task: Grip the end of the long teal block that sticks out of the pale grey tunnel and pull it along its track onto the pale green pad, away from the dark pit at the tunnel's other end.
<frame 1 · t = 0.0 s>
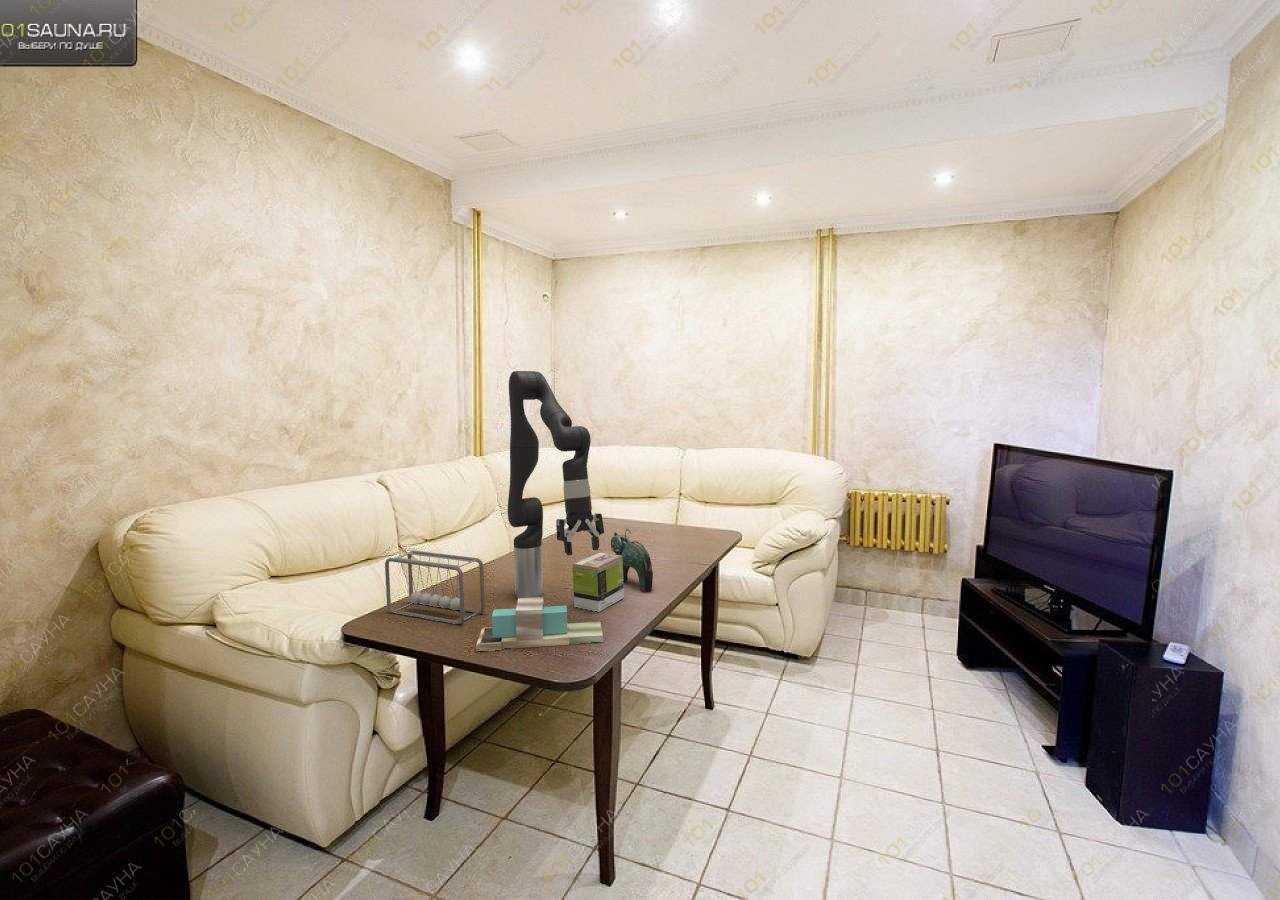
hand: (582, 552, 166), 22 cm above the table, tool pointing down, fingers open, 8 cm apart
ceramic cat: (633, 585, 207), on the table
teal block: (530, 631, 161), point 2 cm above the table, slide at 0.0 cm
newton's cradle: (435, 614, 182), on the table
tunnel track: (521, 640, 161), on the table
tea box: (599, 603, 189), on the table
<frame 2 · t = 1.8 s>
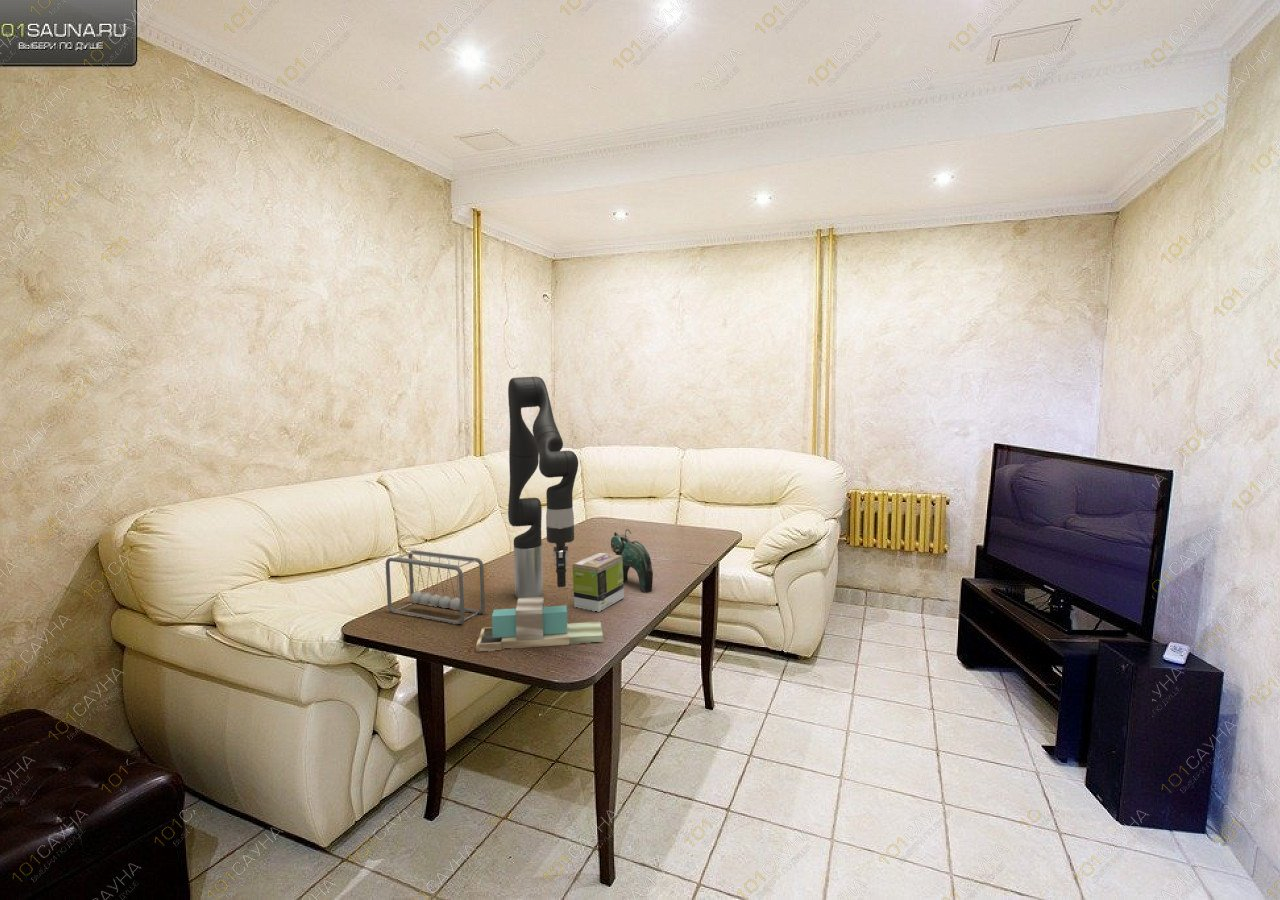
hand: (561, 581, 161), 16 cm above the table, tool pointing down, fingers open, 8 cm apart
nothing on the table moved.
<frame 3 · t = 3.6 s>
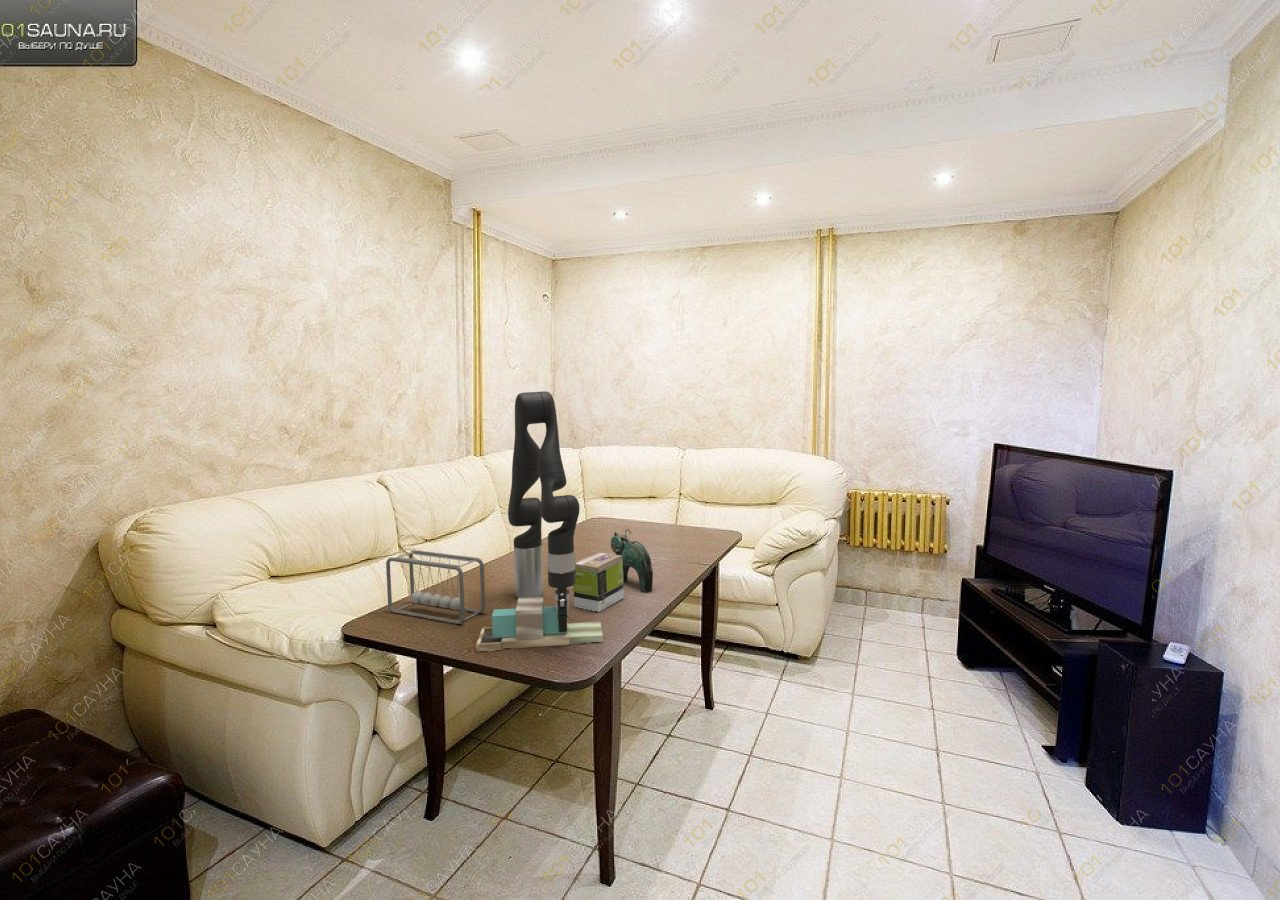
hand: (562, 627, 162), 3 cm above the table, tool pointing down, fingers closed on teal block, 5 cm apart
teal block: (530, 631, 161), point 2 cm above the table, slide at 0.0 cm, touching gripper
everything else where it was.
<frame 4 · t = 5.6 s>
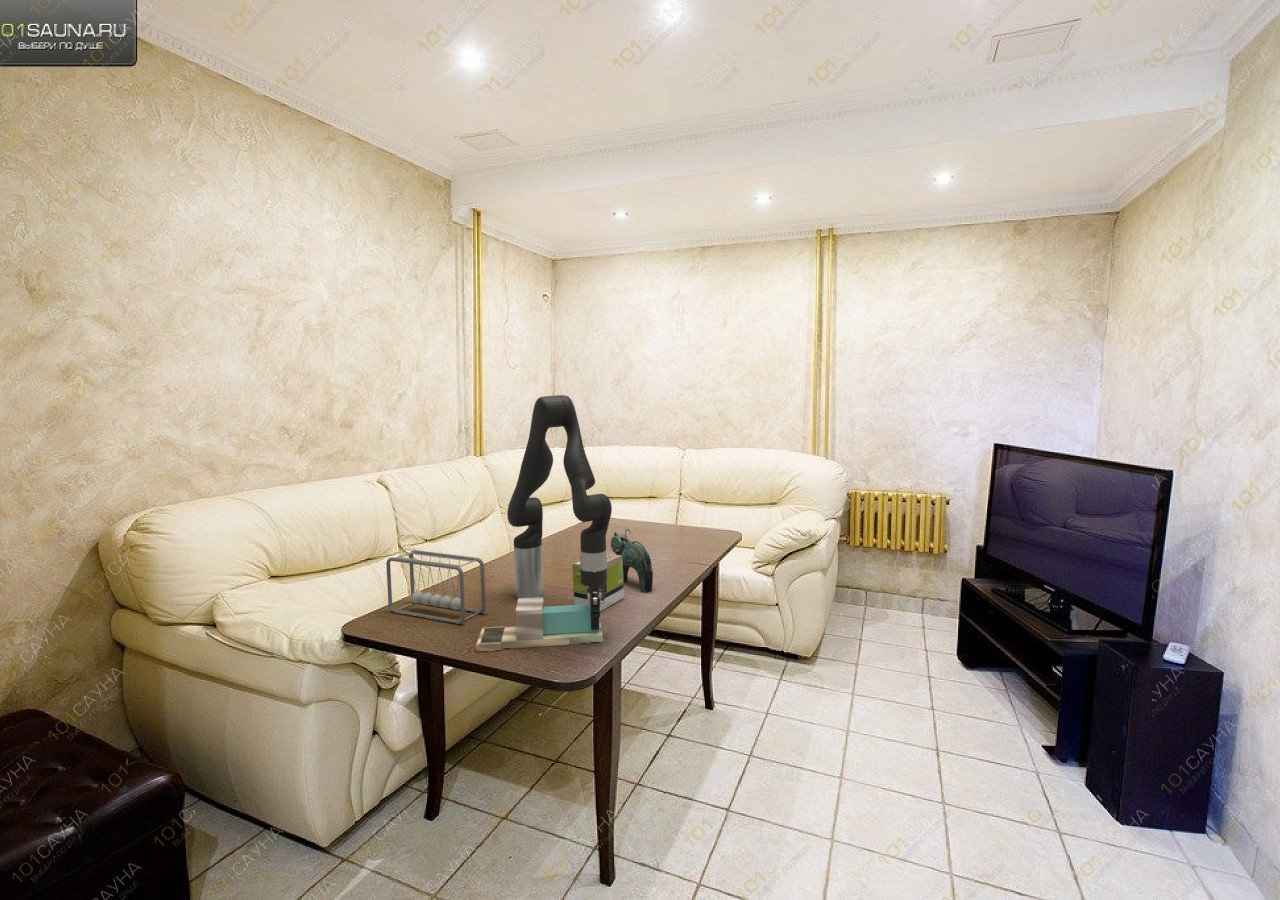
hand: (594, 625, 163), 3 cm above the table, tool pointing down, fingers closed on teal block, 5 cm apart
teal block: (562, 629, 162), point 2 cm above the table, slide at 8.8 cm, touching gripper
everything else where it was.
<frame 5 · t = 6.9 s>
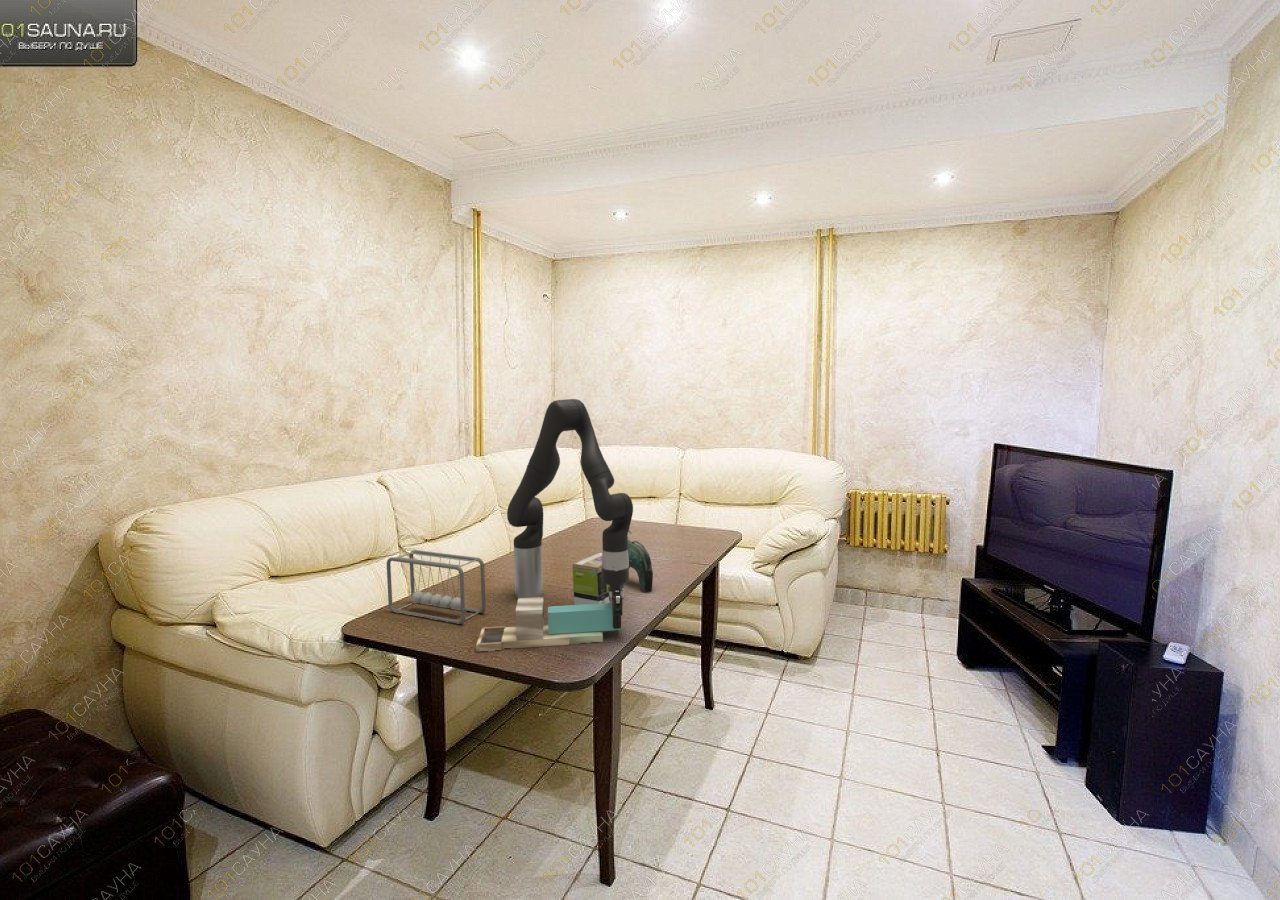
hand: (616, 624, 164), 3 cm above the table, tool pointing down, fingers closed on teal block, 5 cm apart
teal block: (584, 628, 163), point 2 cm above the table, slide at 14.8 cm, touching gripper
everything else where it was.
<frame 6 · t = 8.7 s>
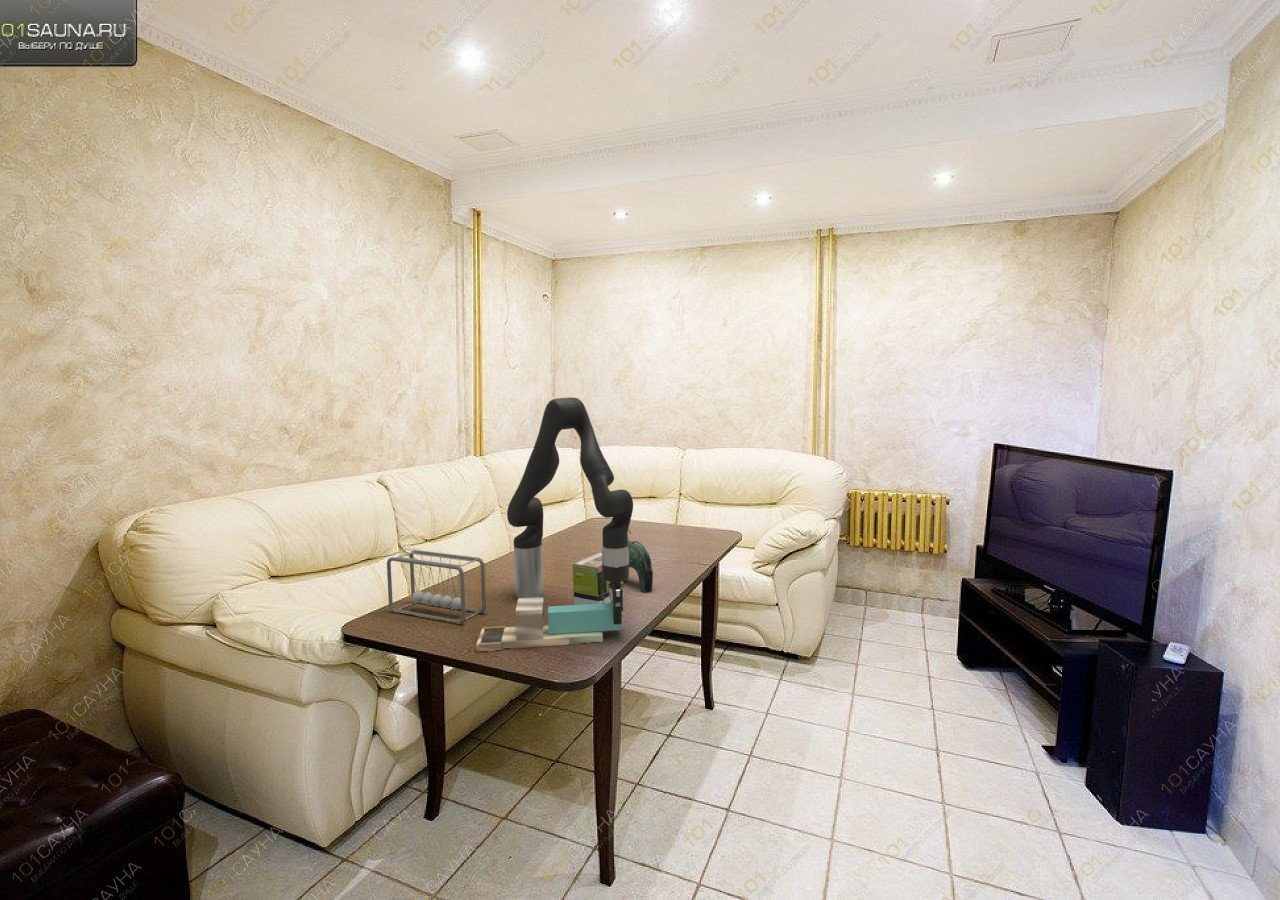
hand: (616, 618, 164), 5 cm above the table, tool pointing down, fingers open, 8 cm apart
teal block: (584, 628, 163), point 2 cm above the table, slide at 14.9 cm
everything else where it was.
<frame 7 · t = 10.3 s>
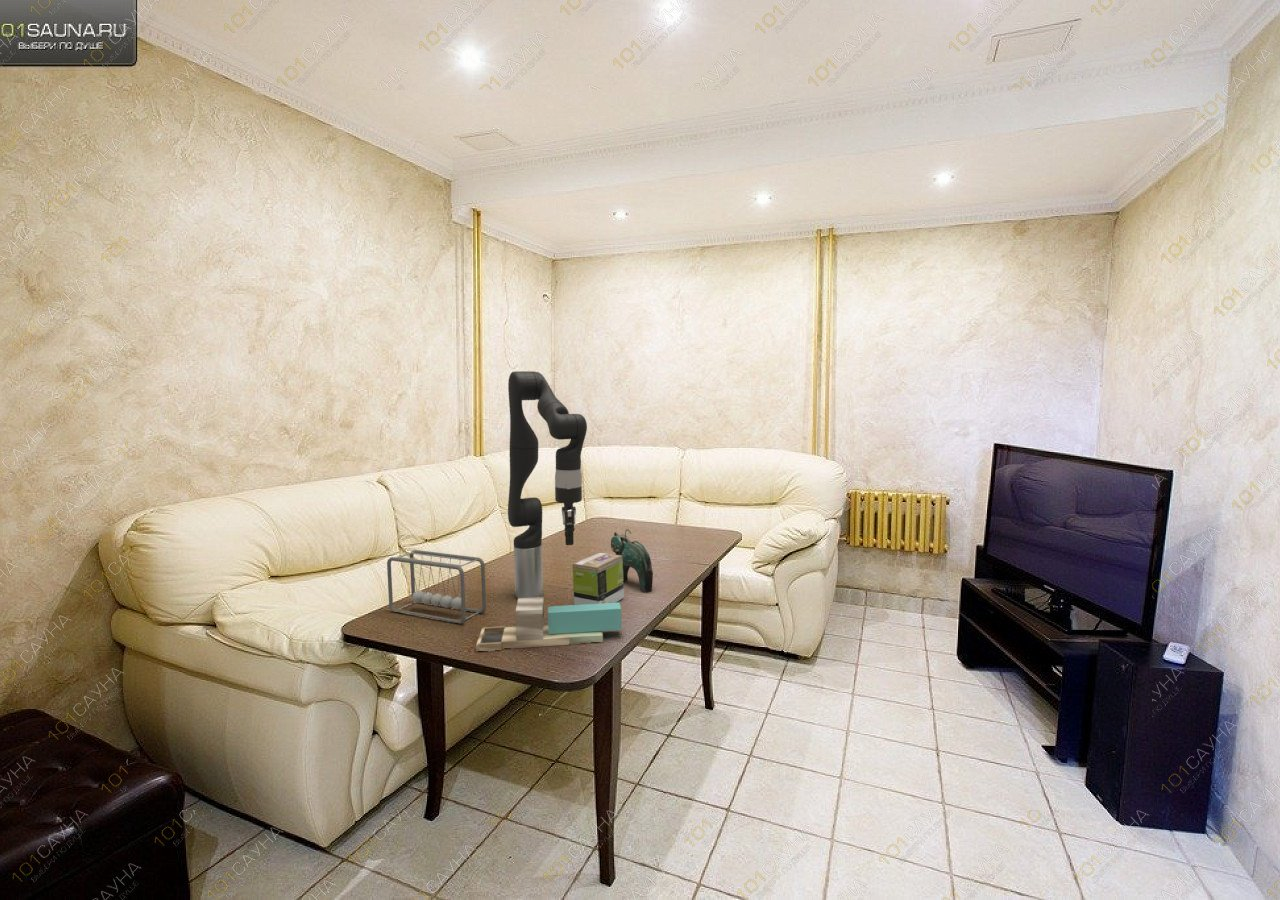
hand: (569, 540, 166), 26 cm above the table, tool pointing down, fingers open, 8 cm apart
nothing on the table moved.
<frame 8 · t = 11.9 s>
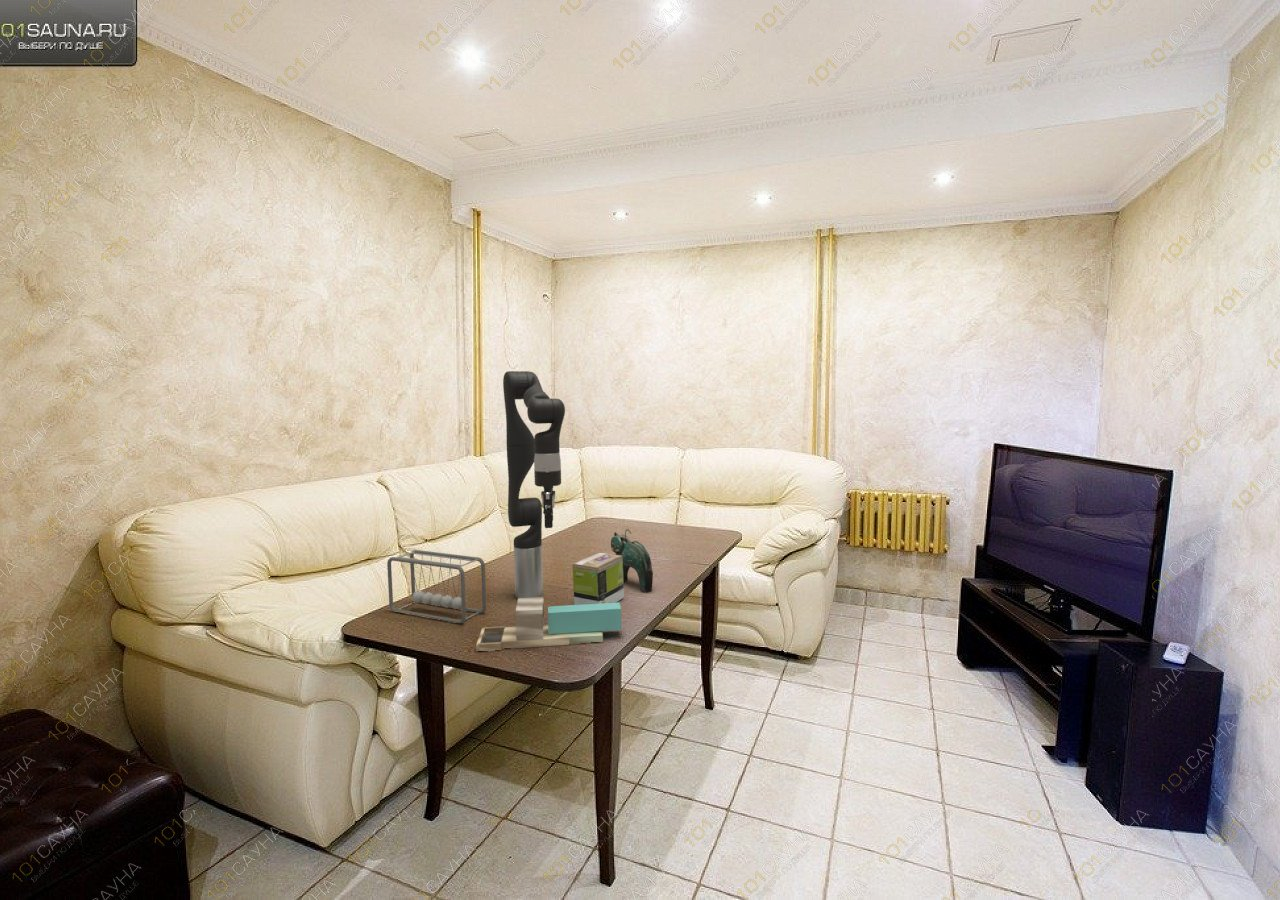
hand: (549, 524, 168), 30 cm above the table, tool pointing down, fingers open, 8 cm apart
nothing on the table moved.
at the end: teal block slide at 14.9 cm; teal block 0.6 cm from the target spot, point 2.2 cm above the table; the gripper is holding nothing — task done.
